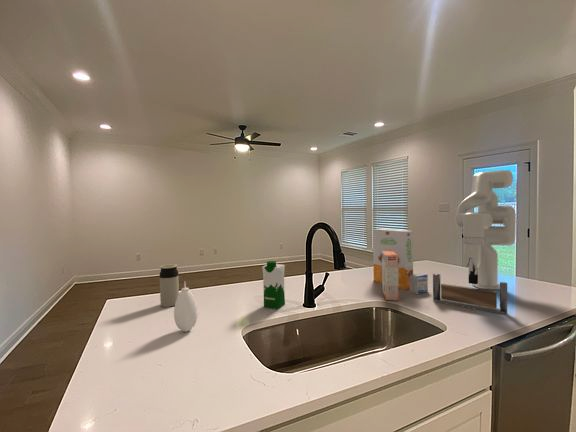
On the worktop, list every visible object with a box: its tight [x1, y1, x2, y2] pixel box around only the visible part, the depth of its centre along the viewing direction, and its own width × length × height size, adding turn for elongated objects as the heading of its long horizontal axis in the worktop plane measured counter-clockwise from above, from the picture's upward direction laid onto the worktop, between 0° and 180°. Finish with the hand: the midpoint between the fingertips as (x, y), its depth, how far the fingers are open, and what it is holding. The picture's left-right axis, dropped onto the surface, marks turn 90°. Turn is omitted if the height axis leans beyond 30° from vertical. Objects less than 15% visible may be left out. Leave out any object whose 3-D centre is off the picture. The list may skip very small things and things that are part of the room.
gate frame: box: [432, 273, 508, 315], centre depth 124 cm, size 4×27×12 cm, turn 48°
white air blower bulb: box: [173, 281, 199, 333], centre depth 105 cm, size 8×8×18 cm
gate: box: [440, 283, 498, 309], centre depth 124 cm, size 2×20×6 cm, turn 48°
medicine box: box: [409, 273, 429, 295], centre depth 147 cm, size 8×4×9 cm, turn 117°
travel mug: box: [159, 263, 180, 308], centre depth 135 cm, size 8×8×18 cm
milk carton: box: [261, 260, 286, 310], centre depth 130 cm, size 9×9×20 cm
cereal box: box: [372, 228, 414, 291], centre depth 162 cm, size 22×6×30 cm, turn 26°
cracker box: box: [381, 251, 399, 302], centre depth 140 cm, size 14×6×21 cm, turn 168°
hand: (473, 283), depth 128 cm, fingers closed
